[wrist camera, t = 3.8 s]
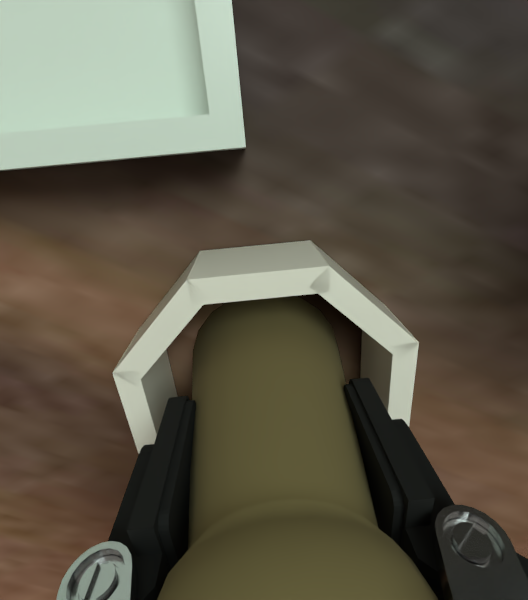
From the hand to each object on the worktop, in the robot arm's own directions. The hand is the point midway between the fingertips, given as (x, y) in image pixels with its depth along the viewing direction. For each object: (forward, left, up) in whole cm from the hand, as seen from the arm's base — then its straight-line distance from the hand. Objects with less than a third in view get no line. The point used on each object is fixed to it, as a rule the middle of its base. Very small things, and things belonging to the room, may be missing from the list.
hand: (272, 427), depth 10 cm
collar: (0, 0, -4) cm, 4 cm away
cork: (0, 0, -4) cm, 4 cm away
